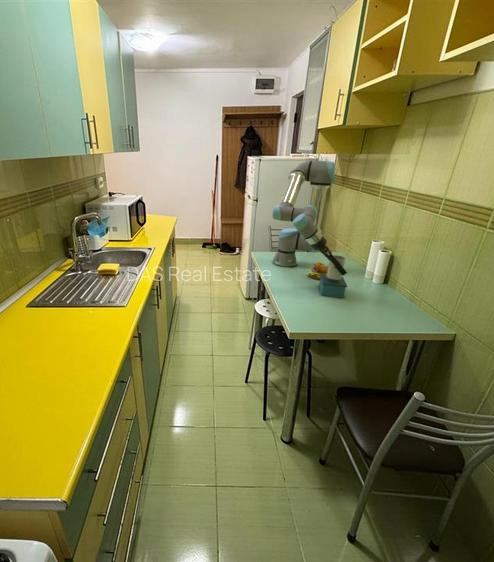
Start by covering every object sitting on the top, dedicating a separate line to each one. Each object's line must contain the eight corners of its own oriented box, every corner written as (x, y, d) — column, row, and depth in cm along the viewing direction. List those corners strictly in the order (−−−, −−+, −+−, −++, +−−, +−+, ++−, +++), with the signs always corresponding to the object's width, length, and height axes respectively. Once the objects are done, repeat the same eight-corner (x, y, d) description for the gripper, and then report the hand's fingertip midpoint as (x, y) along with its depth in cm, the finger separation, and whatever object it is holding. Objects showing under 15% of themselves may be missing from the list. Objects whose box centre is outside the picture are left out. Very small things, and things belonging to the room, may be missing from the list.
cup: (325, 273, 165) (329, 254, 161) (340, 275, 164) (344, 256, 159) (327, 278, 159) (331, 259, 154) (342, 280, 157) (347, 260, 153)
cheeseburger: (306, 272, 190) (313, 258, 185) (323, 278, 188) (330, 264, 183) (306, 277, 181) (313, 263, 176) (323, 284, 179) (331, 269, 174)
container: (318, 285, 172) (320, 274, 169) (340, 288, 169) (342, 276, 166) (320, 295, 160) (323, 283, 157) (344, 298, 158) (347, 286, 155)
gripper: (304, 239, 164) (329, 268, 170) (315, 251, 146) (342, 283, 151) (316, 230, 162) (341, 260, 168) (329, 240, 143) (356, 274, 149)
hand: (341, 271), depth 160 cm, fingers closed on cup, 7 cm apart
